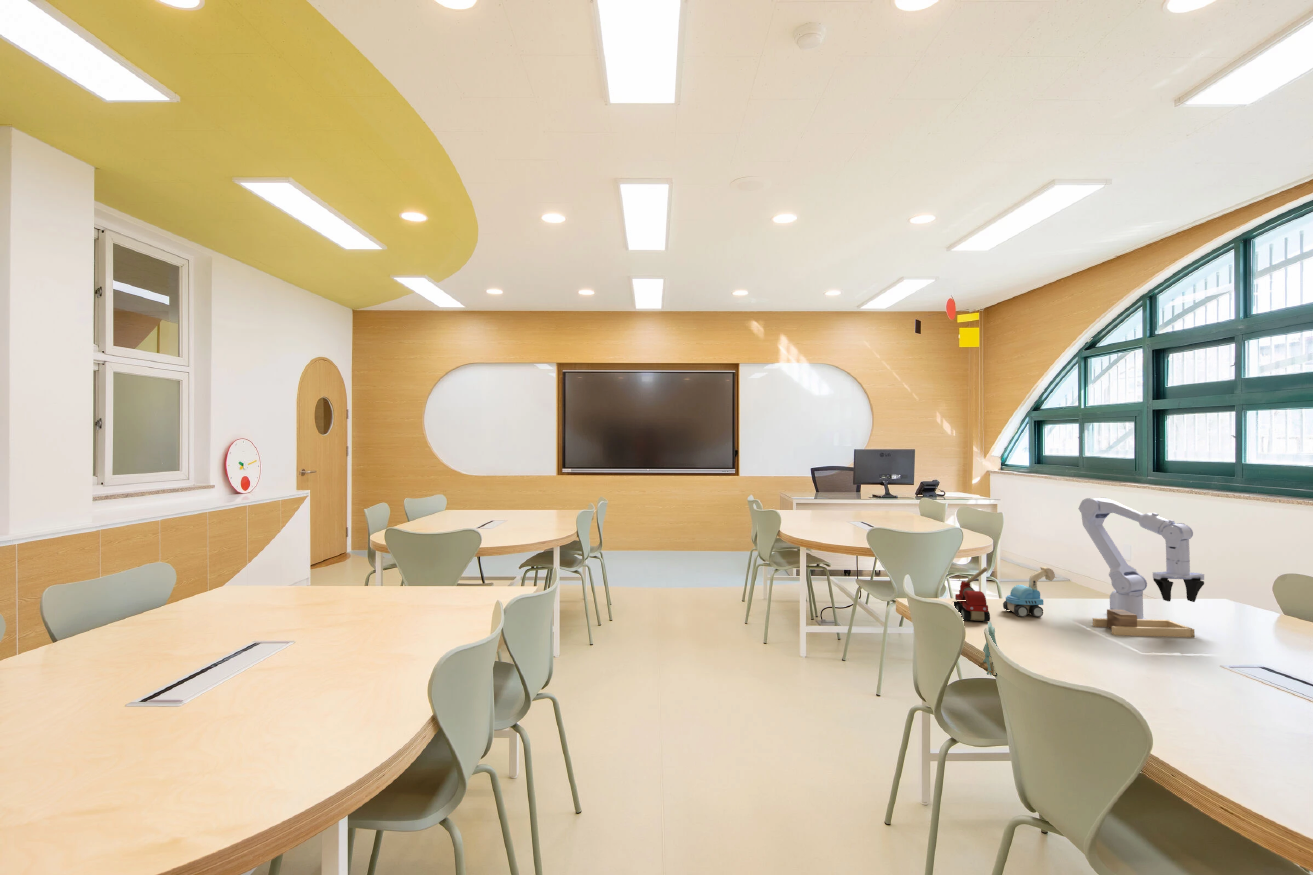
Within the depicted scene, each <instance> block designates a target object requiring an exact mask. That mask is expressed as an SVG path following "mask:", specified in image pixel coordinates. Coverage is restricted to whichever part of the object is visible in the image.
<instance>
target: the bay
mask: <svg viewBox="0 0 1313 875" xmlns="http://www.w3.org/2000/svg"><path fill="white" fill-rule="evenodd" d="M1092 626H1093V627H1101V628H1102V627H1103V628H1104V627H1105V628H1108V627H1107V617H1106V618H1102V617H1101V618H1100V617H1099V618H1097V617H1092ZM1111 635H1113V636H1133V637H1134V636H1137V637H1139V636H1141V637H1180V638H1181V637H1182V638H1195V629H1194V628H1192V627H1189V626H1187V625H1184V624H1181V623H1178V622H1175V621H1173V620H1170V619H1148V618H1146V619H1137V627H1124V626H1112V629H1111Z"/></svg>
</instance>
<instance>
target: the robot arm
mask: <svg viewBox="0 0 1313 875" xmlns="http://www.w3.org/2000/svg"><path fill="white" fill-rule="evenodd" d="M1078 510H1079V512H1080V513H1081V515H1080V516H1081V520H1082V526H1083V528H1084V529H1085V531H1086V532H1087V534H1088V536H1089V537H1090V539H1091V540H1092V542H1093V543H1094V545H1095V548H1097V550H1098V552H1099V554H1100V555H1101V557H1102V558H1103V560H1104V561H1105V563H1106V564H1107V566H1108V568H1109V569H1110V570H1109V572H1108V577H1109V578H1110V581H1111V587H1112V588H1113V589H1114V590H1113V591H1112V592H1111V593H1110V595H1109V609H1113V610H1125V611H1128V612H1130V613H1133V614H1136V615H1137V619H1147V618H1145V617H1144V591H1145V590H1146V589H1147V587H1148V582H1147V580H1146V578H1145V577H1144V576H1143V575H1141V574H1140V573H1139V572H1138V571H1137V569H1136V568H1134V567H1133V566H1131V565H1129V564H1128V562H1127V561H1126V559H1125V557H1124V556H1123V554H1122V553H1121V551H1120V550H1119V548H1118V547H1117V545H1116V544H1115V542H1114V541H1113V539H1112V538H1111V535H1110V534H1109V533H1108V531H1107V530H1106V528H1105V526H1104V521H1105V519H1107V518H1108V517H1109V515H1110V514H1116V515H1118V516H1120V517H1121V516H1122V517H1124V518H1126V519H1130V520H1132V521H1134V522H1138V524H1139V526H1140V527H1141V528H1143V529H1145V530H1147V531H1150V532H1152V533H1154V534H1156V535H1159V536H1161V537H1162V538H1163V539H1164V540H1165V563H1166V566H1165V568H1166V571H1157V572H1156V571H1153V572H1152V579H1153V582H1154V584H1156V586H1157V588H1158V590H1159V591H1160V594H1161V597H1162V600H1163V601H1166V602H1171V599H1172V589H1173V588H1172V587H1173V585H1174V582H1173V581H1170V580H1183V582H1184V586H1185V590H1186V592H1185V594H1186V599H1187V601H1189V602H1191V603H1195V602H1196V600H1197V597H1198V594H1199V592H1200V590H1201V589H1202V587H1203V586H1204V585H1205V574H1204V573H1202V572H1201V573H1200V572H1191V563H1190V561H1191V560H1190V559H1191V557H1190V540H1191V539H1192V537H1193V536H1194V531H1193V529H1192V527H1190V526H1189V525H1188V524H1185V523H1183V522H1178V523H1176V522H1175V520H1174V519H1167V518H1164V517H1162V516H1159V513H1157V512H1146V513H1143V512H1140V511H1138V510H1135V509H1134V508H1131V507H1129V506H1127V505H1124V504H1123V503H1120V502H1118V501H1116V500H1114V499H1110V498H1107V497H1094V498H1093V497H1092V498H1091V497H1087V498H1084V499H1082V500H1081V501H1080V504H1079V506H1078Z"/></svg>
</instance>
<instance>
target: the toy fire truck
mask: <svg viewBox="0 0 1313 875" xmlns="http://www.w3.org/2000/svg"><path fill="white" fill-rule="evenodd" d="M988 570H989V568H988V567H987V566H984V567H982V568H981V569H980V570H979V571H977V572H976V573H975V574H973V575H972V576H971V577H969V578H968V579H967V580H961V581H960V585H959V588H960V589H959V590H958V592H959V593H956V594H955V596H954V597H955V600H954V601H952V602H954V606H955V608H956V609H957V610H958V612H960V613H961V615H962V617H963V619H964V621H965V622H967V621H966V620H970V621H980V622H982V621H989V622H991V615H990V611H989V605H988V604H987V597H986V595H985V593H984V592H983V591H981V590H975V589H974V588H973V587H972V586H971V583H972V582H974V581H975V580H977V579H978V578H979V577H980V576H982V575H984V573H986V572H987V571H988ZM957 600H966V601H957ZM962 617H961V618H962Z"/></svg>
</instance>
